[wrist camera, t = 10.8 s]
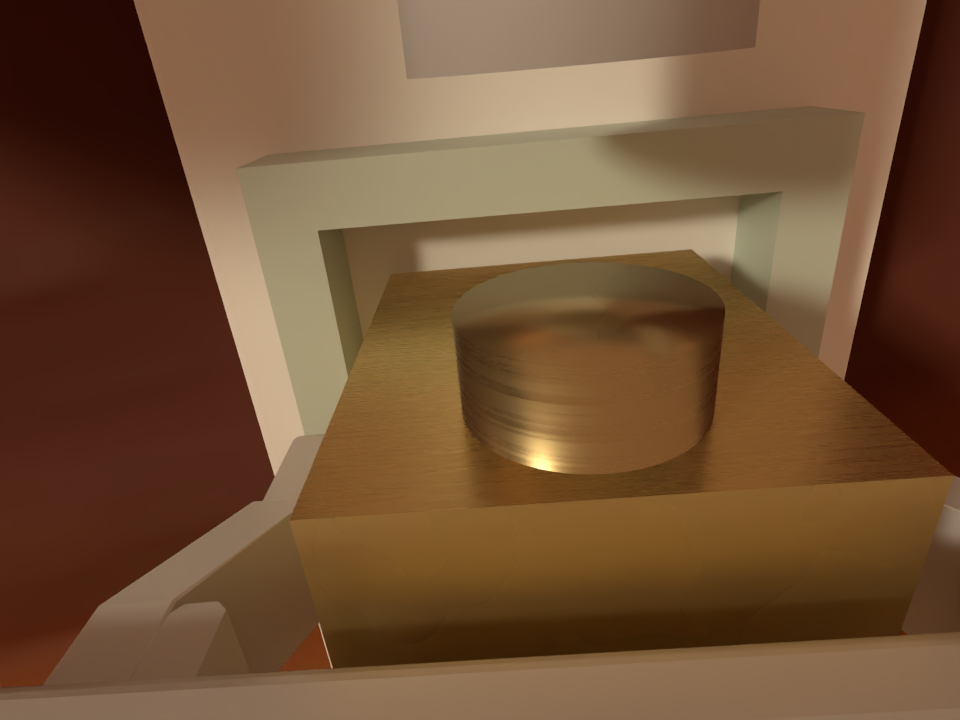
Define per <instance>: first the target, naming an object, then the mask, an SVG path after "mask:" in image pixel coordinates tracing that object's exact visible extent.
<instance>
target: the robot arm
mask: <svg viewBox="0 0 960 720" xmlns="http://www.w3.org/2000/svg"><path fill="white" fill-rule="evenodd" d="M324 435H325V434H316V435H304V436H299V437H296V438H295V439H294V440H293V442H292V444H291V446H290V448H289V450H288V452H287V454H286V456H285V458H284V460H283V462H282V464H281V466H280V468H279V470H278V472H277V474H276V476H275V478H274V480H273V482H272V484H271V486H270V488H269V490H268V492H267V494H266V496H265V498H264V500H263V501H258V502H252V503H251V504H249V505H248V506H246V507H245V508H243V509H242V510H240V511H239V512H237V513H236V514H234V515H233V516H231V517H230V518H228V519H227V520H225V521H224V522H222V523H221V524H219V525H218V526H217V527H215V528H214V529H212V530H211V531H209V532H208V533H206V534H205V535H203V536H202V537H200V538H199V539H197V540H196V541H194V542H193V543H191V544H190V545H188V546H187V547H185V548H184V549H183V550H181V551H180V552H178V553H177V554H175V555H174V556H172V557H171V558H169V559H168V560H166V561H165V562H163V563H162V564H160V565H159V566H157V567H156V568H154V569H153V570H151V571H150V572H149V573H147V574H146V575H144V576H143V577H141V578H140V579H138V580H137V581H135V582H134V583H132V584H131V585H129V586H128V587H126V588H125V589H123V590H122V591H120V592H119V593H117V594H116V595H115V596H113V597H112V598H110V599H109V600H107V601H106V602H104V603H103V604H101V605H100V606H99V607H98V608H97V609H96V611H95V612H94V614H93V615H92V616H91V618H90V619H89V621H88V622H87V624H86V625H85V626H84V628H83V629H82V631H81V632H80V633H79V635H78V636H77V638H76V639H75V641H74V642H73V643H72V645H71V646H70V648H69V649H68V650H67V652H66V653H65V655H64V656H63V658H62V659H61V660H60V662H59V663H58V665H57V666H56V667H55V669H54V670H53V672H52V673H51V675H50V676H49V677H48V679H47V680H46V682H45V683H44V684H43V685H40V686H22V687H5V688H0V720H960V478H959V477H956V476H954V477H953V480H952V482H951V485H950V488H949V491H948V494H947V497H946V500H945V503H944V506H943V509H942V512H941V515H940V518H939V521H938V524H937V527H936V530H935V532H934V535H933V538H932V541H931V544H930V547H929V550H928V553H927V556H926V559H925V562H924V565H923V568H922V571H921V574H920V577H919V580H918V582H917V585H916V588H915V591H914V594H913V597H912V600H911V603H910V606H909V609H908V612H907V615H906V618H905V621H904V624H903V627H902V631H903V632H905V633H906V634H908V635H900V636H883V637H865V638H848V639H831V640H814V641H797V642H780V643H762V644H745V645H727V646H710V647H692V648H675V649H657V650H640V651H622V652H605V653H587V654H570V655H552V656H535V657H518V658H501V659H485V660H468V661H452V662H435V663H419V664H402V665H385V666H369V667H352V668H336V669H319V670H302V671H286V672H278V670H279V669H280V668H281V667H282V666H283V665H284V663H285V662H286V661H287V660H288V659H289V657H290V656H291V655H292V654H293V653H294V652H295V650H296V649H297V648H298V647H299V646H300V645H301V643H302V642H303V641H304V640H305V639H306V638H307V636H308V635H309V634H310V633H311V632H312V630H313V629H314V628H315V627H316V626H317V625H318V623H319V620H318V617H317V613H316V610H315V607H314V603H313V600H312V596H311V593H310V590H309V586H308V583H307V579H306V576H305V573H304V569H303V566H302V563H301V559H300V556H299V552H298V549H297V546H296V542H295V539H294V535H293V532H292V529H291V525H290V522H289V520H290V517H291V515H292V513H293V510H294V508H295V505H296V503H297V500H298V498H299V496H300V493H301V491H302V488H303V486H304V483H305V481H306V479H307V476H308V474H309V471H310V469H311V467H312V464H313V462H314V459H315V457H316V454H317V452H318V450H319V447H320V445H321V442H322V440H323V438H324Z"/></svg>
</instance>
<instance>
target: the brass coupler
mask: <svg viewBox="0 0 960 720" xmlns="http://www.w3.org/2000/svg"><path fill="white" fill-rule="evenodd" d="M953 477H954V475H953V474H952V473H950V472H949V471H948V470H947V469H946V468H945V467H943V466H942V465H941V464H940V463H939V462H938V461H936V460H935V459H934V458H933V457H932V456H931V455H930V454H928V453H927V452H926V451H925V450H924V449H923V448H921V447H920V446H919V445H918V444H917V443H916V442H914V441H913V440H912V439H911V438H910V437H909V436H908V435H906V434H905V433H904V432H903V431H902V430H901V429H899V428H898V427H897V426H896V425H895V424H894V423H892V422H891V421H890V420H889V419H888V418H887V417H886V416H884V415H883V414H882V413H881V412H880V411H879V410H877V409H876V408H875V407H874V406H873V405H872V404H870V403H869V402H868V401H867V400H866V399H865V398H864V397H862V396H861V395H860V394H859V393H858V392H857V391H855V390H854V389H853V388H852V387H851V386H850V385H848V384H847V383H846V382H845V381H844V380H843V379H842V378H840V377H839V376H838V375H837V374H836V373H835V372H833V371H832V370H831V369H830V368H829V367H828V366H826V365H825V364H824V363H823V362H822V361H821V360H820V359H818V358H817V357H816V356H815V355H814V354H813V353H811V352H810V351H809V350H808V349H807V348H806V347H804V346H803V345H802V344H801V343H800V342H799V341H798V340H796V339H795V338H794V337H793V336H792V335H791V334H789V333H788V332H787V331H786V330H785V329H784V328H782V327H781V326H780V325H779V324H778V323H777V322H776V321H774V320H773V319H772V318H771V317H770V316H769V315H767V314H766V313H765V312H764V311H763V310H762V309H760V308H759V307H758V306H757V305H756V304H755V303H754V302H752V301H751V300H750V299H749V298H748V297H747V296H745V295H744V294H743V293H742V292H741V291H740V290H738V289H737V288H736V287H735V286H734V285H733V284H732V283H730V282H729V281H728V280H727V279H726V278H725V277H723V276H722V275H721V274H720V273H719V272H718V271H716V270H715V269H714V268H713V267H712V266H711V265H710V264H708V263H707V262H706V261H705V260H704V259H703V258H701V257H700V256H699V255H698V254H697V253H696V252H695V251H693V250H692V249H689V250H676V251H664V252H652V253H640V254H627V255H615V256H603V257H591V258H579V259H566V260H554V261H542V262H530V263H518V264H505V265H493V266H481V267H469V268H456V269H444V270H432V271H420V272H408V273H395V274H391V275H390V278H389V280H388V283H387V285H386V287H385V290H384V292H383V295H382V297H381V300H380V302H379V304H378V307H377V309H376V312H375V314H374V317H373V319H372V321H371V324H370V326H369V329H368V331H367V333H366V336H365V338H364V341H363V343H362V346H361V348H360V350H359V353H358V355H357V358H356V360H355V362H354V365H353V367H352V370H351V372H350V375H349V377H348V379H347V382H346V384H345V387H344V389H343V392H342V394H341V396H340V399H339V401H338V404H337V406H336V408H335V411H334V413H333V416H332V418H331V421H330V423H329V425H328V428H327V430H326V433H325V435H324V438H323V440H322V442H321V445H320V447H319V450H318V452H317V454H316V457H315V459H314V462H313V464H312V467H311V469H310V471H309V474H308V476H307V479H306V481H305V483H304V486H303V488H302V491H301V493H300V496H299V498H298V500H297V503H296V505H295V508H294V510H293V513H292V515H291V517H290V520H289V522H290V525H291V529H292V532H293V535H294V539H295V542H296V546H297V549H298V552H299V556H300V559H301V563H302V566H303V569H304V573H305V576H306V579H307V583H308V586H309V590H310V593H311V596H312V600H313V603H314V607H315V610H316V613H317V617H318V620H319V624H320V627H321V630H322V634H323V637H324V640H325V644H326V647H327V651H328V654H329V657H330V661H331V664H332V668H333V669H336V668H352V667H369V666H385V665H402V664H419V663H435V662H452V661H468V660H485V659H501V658H518V657H535V656H552V655H570V654H587V653H605V652H622V651H640V650H657V649H675V648H692V647H710V646H727V645H745V644H762V643H780V642H797V641H814V640H831V639H848V638H865V637H883V636H899V635H900V632H901V630H902V627H903V624H904V621H905V618H906V615H907V612H908V609H909V606H910V603H911V600H912V597H913V594H914V591H915V588H916V585H917V582H918V580H919V577H920V574H921V571H922V568H923V565H924V562H925V559H926V556H927V553H928V550H929V547H930V544H931V541H932V538H933V535H934V532H935V530H936V527H937V524H938V521H939V518H940V515H941V512H942V509H943V506H944V503H945V500H946V497H947V494H948V491H949V488H950V485H951V482H952V480H953Z"/></svg>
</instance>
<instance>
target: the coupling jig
mask: <svg viewBox="0 0 960 720" xmlns="http://www.w3.org/2000/svg"><path fill="white" fill-rule="evenodd" d="M926 2H927V0H134V4H135V7H136V10H137V14H138V17H139V21H140V24H141V27H142V31H143V34H144V37H145V41H146V44H147V47H148V51H149V54H150V58H151V61H152V64H153V68H154V71H155V74H156V78H157V81H158V85H159V88H160V91H161V95H162V98H163V101H164V105H165V108H166V111H167V115H168V118H169V122H170V125H171V128H172V132H173V135H174V138H175V142H176V145H177V149H178V152H179V155H180V159H181V162H182V165H183V169H184V172H185V175H186V179H187V182H188V186H189V189H190V192H191V196H192V199H193V202H194V206H195V209H196V213H197V216H198V219H199V223H200V226H201V229H202V233H203V236H204V240H205V243H206V246H207V250H208V253H209V256H210V260H211V263H212V266H213V270H214V273H215V277H216V280H217V283H218V287H219V290H220V293H221V297H222V300H223V304H224V307H225V310H226V314H227V317H228V320H229V324H230V327H231V330H232V334H233V337H234V341H235V344H236V347H237V351H238V354H239V357H240V361H241V364H242V368H243V371H244V374H245V378H246V381H247V384H248V388H249V391H250V394H251V398H252V401H253V405H254V408H255V411H256V415H257V418H258V421H259V425H260V428H261V432H262V435H263V438H264V442H265V445H266V448H267V452H268V455H269V458H270V462H271V465H272V469H273V472H274V475H275V476H276V474H277V472H278V470H279V468H280V466H281V464H282V462H283V460H284V458H285V456H286V454H287V452H288V450H289V448H290V446H291V444H292V442H293V440H294V439H295V438H296V437H299V436H304V435H316V434H325V433H326V430H327V428H328V425H329V423H330V421H331V418H332V416H333V413H334V411H335V408H336V406H337V404H338V401H339V399H340V396H341V394H342V392H343V389H344V387H345V384H346V382H347V379H348V377H349V375H350V372H351V370H352V367H353V365H354V362H355V360H356V358H357V355H358V353H359V350H360V348H361V346H362V343H363V341H364V338H365V336H366V333H367V331H368V329H369V326H370V324H371V321H372V319H373V317H374V314H375V312H376V309H377V307H378V304H379V302H380V300H381V297H382V295H383V292H384V290H385V287H386V285H387V283H388V280H389V278H390V275H391V274H395V273H408V272H420V271H432V270H444V269H456V268H469V267H481V266H493V265H505V264H518V263H530V262H542V261H554V260H566V259H579V258H591V257H603V256H615V255H627V254H640V253H652V252H664V251H676V250H689V249H692V250H693V251H695V252H696V253H697V254H698V255H699V256H700V257H701V258H703V259H704V260H705V261H706V262H707V263H708V264H710V265H711V266H712V267H713V268H714V269H715V270H716V271H718V272H719V273H720V274H721V275H722V276H723V277H725V278H726V279H727V280H728V281H729V282H730V283H732V284H733V285H734V286H735V287H736V288H737V289H738V290H740V291H741V292H742V293H743V294H744V295H745V296H747V297H748V298H749V299H750V300H751V301H752V302H754V303H755V304H756V305H757V306H758V307H759V308H760V309H762V310H763V311H764V312H765V313H766V314H767V315H769V316H770V317H771V318H772V319H773V320H774V321H776V322H777V323H778V324H779V325H780V326H781V327H782V328H784V329H785V330H786V331H787V332H788V333H789V334H791V335H792V336H793V337H794V338H795V339H796V340H798V341H799V342H800V343H801V344H802V345H803V346H804V347H806V348H807V349H808V350H809V351H810V352H811V353H813V354H814V355H815V356H816V357H817V358H818V359H820V360H821V361H822V362H823V363H824V364H825V365H826V366H828V367H829V368H830V369H831V370H832V371H833V372H835V373H836V374H837V375H838V376H839V377H840V378H842V379H843V380H844V379H845V374H846V369H847V365H848V360H849V356H850V351H851V347H852V342H853V337H854V333H855V328H856V324H857V319H858V314H859V310H860V305H861V301H862V296H863V291H864V287H865V282H866V278H867V273H868V269H869V264H870V259H871V255H872V250H873V246H874V241H875V236H876V232H877V227H878V223H879V218H880V213H881V209H882V204H883V200H884V195H885V191H886V186H887V181H888V177H889V172H890V168H891V163H892V158H893V154H894V149H895V145H896V140H897V135H898V131H899V126H900V122H901V117H902V112H903V108H904V103H905V99H906V94H907V90H908V85H909V80H910V76H911V71H912V67H913V62H914V57H915V53H916V48H917V44H918V39H919V34H920V30H921V25H922V21H923V16H924V12H925V7H926ZM318 624H319V623H318ZM319 627H320V624H319ZM320 630H321V627H320ZM321 634H322V630H321ZM322 637H323V634H322ZM323 640H324V637H323ZM324 644H325V640H324ZM325 647H326V644H325ZM326 651H327V647H326ZM327 654H328V651H327ZM328 657H329V654H328ZM329 661H330V657H329ZM330 664H331V661H330ZM331 667H332V664H331ZM332 669H333V668H332Z"/></svg>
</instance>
